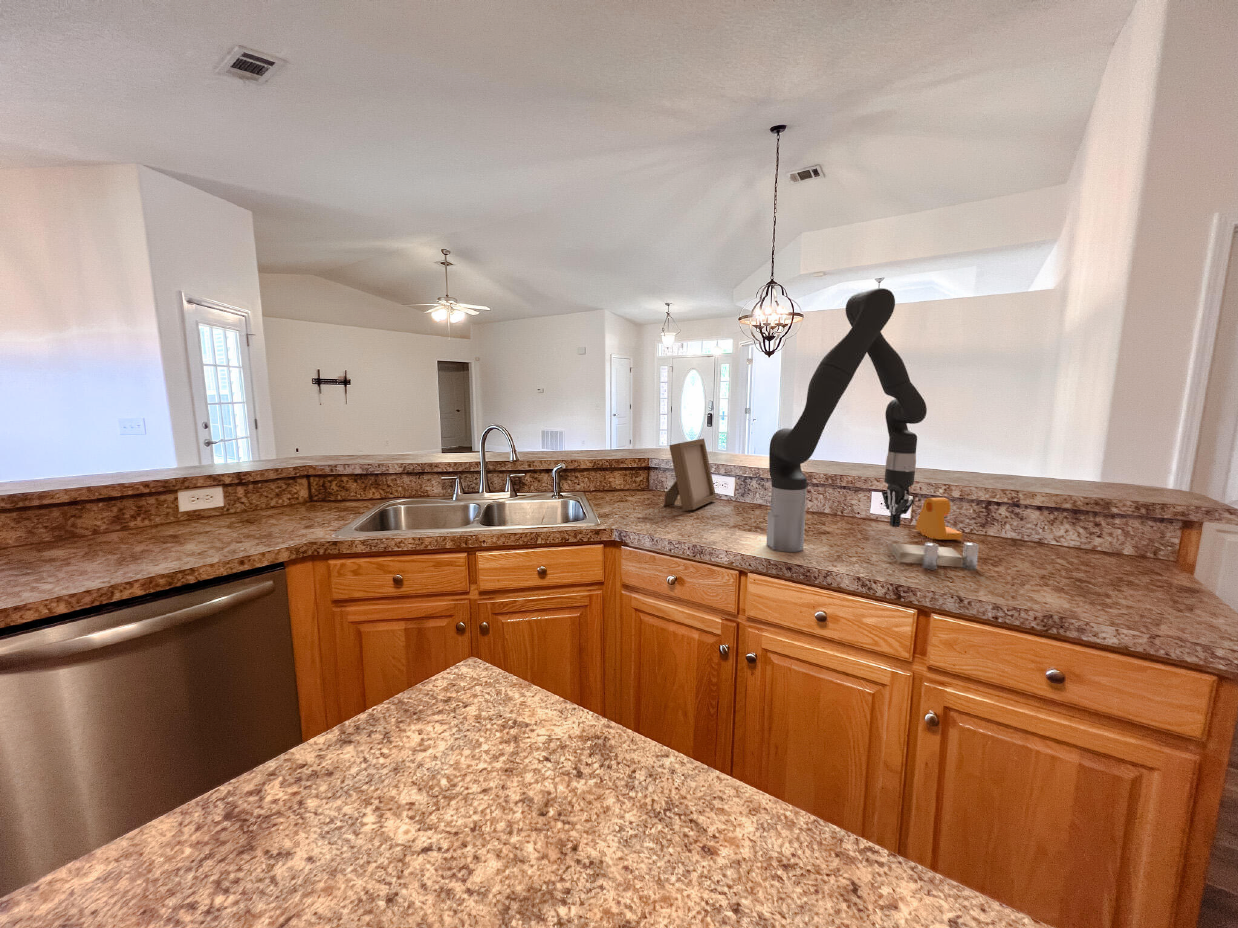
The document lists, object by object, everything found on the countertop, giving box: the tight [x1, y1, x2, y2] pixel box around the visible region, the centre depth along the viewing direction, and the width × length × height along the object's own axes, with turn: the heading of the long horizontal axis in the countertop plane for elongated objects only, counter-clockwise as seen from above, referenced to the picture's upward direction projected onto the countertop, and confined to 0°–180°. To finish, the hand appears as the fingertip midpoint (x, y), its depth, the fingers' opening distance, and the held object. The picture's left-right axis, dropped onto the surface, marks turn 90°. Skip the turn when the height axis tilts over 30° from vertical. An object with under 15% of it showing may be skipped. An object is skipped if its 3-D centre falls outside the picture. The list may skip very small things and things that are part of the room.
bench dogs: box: [921, 541, 980, 571], centre depth 125 cm, size 13×3×6 cm, turn 91°
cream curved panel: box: [891, 543, 963, 568], centre depth 131 cm, size 14×8×3 cm, turn 74°
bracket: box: [915, 497, 963, 540], centre depth 152 cm, size 11×7×12 cm, turn 2°
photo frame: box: [663, 438, 717, 512], centre depth 194 cm, size 15×22×25 cm
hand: (894, 526), depth 148 cm, fingers closed
